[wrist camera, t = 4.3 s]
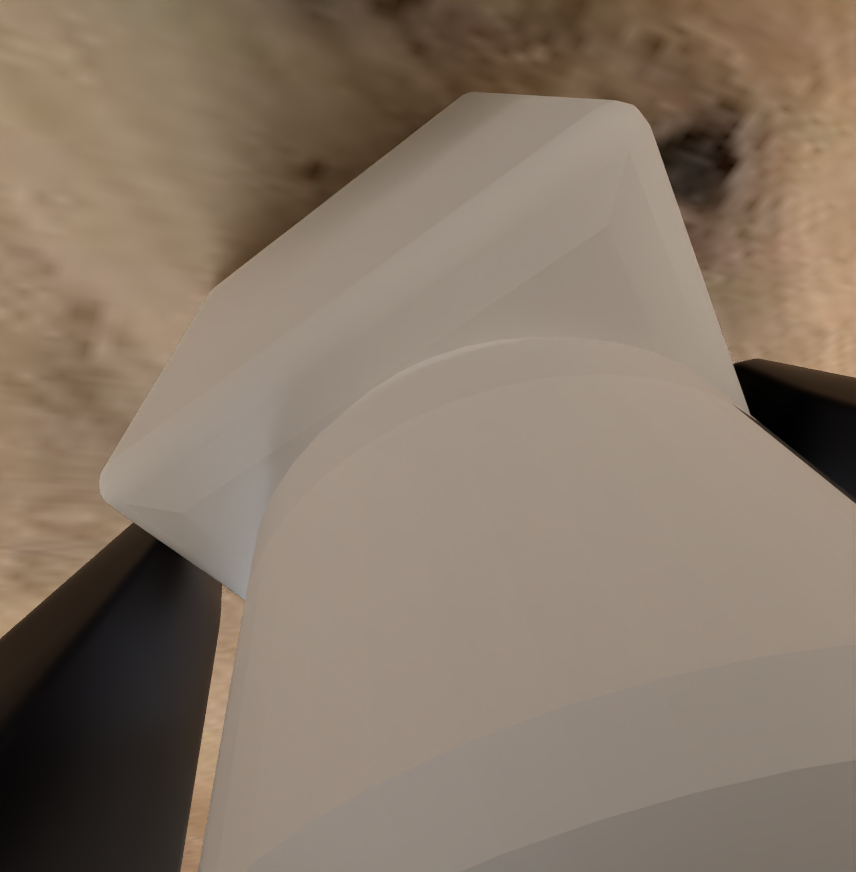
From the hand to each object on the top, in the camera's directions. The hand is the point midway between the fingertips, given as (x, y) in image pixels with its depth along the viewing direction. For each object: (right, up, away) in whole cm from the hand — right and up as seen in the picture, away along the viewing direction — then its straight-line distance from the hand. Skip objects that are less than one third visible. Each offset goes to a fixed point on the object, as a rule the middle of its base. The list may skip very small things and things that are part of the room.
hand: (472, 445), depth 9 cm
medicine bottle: (-1, +3, +5) cm, 6 cm away
